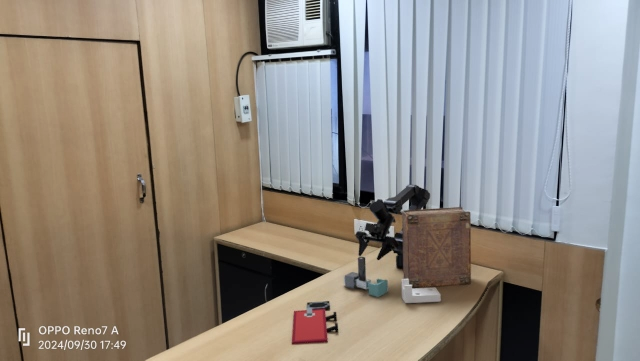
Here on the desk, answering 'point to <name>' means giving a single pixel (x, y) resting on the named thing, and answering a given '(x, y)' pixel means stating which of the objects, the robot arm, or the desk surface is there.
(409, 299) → the bracket
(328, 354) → the desk surface
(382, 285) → the socket block
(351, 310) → the desk surface
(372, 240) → the robot arm
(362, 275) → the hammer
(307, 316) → the red board with handle
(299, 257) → the desk surface
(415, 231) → the book
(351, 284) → the outer sleeve
